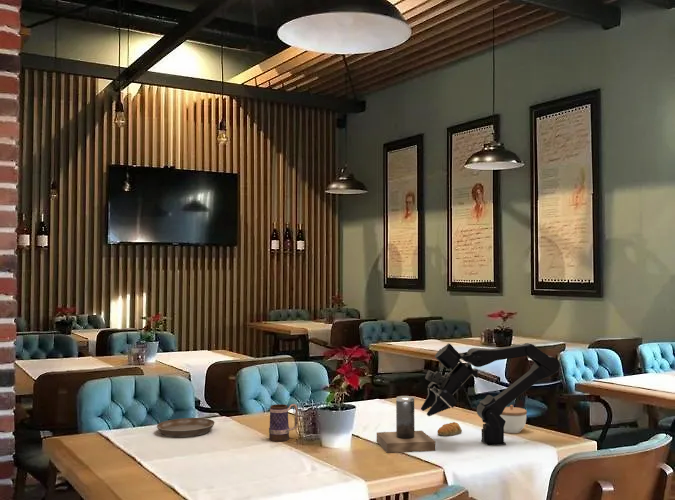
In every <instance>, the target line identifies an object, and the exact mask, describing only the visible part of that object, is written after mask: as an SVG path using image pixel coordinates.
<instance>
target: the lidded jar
mask: <svg viewBox="0 0 675 500" xmlns="http://www.w3.org/2000/svg"><path fill="white" fill-rule="evenodd" d="M527 413H528V411H527V409H525V408H522V407H514V405H513V404H510V405H509V406H506V407H505V409H504V411H503V413H502V414H501V415H500V416H501V417H502V418H503V419H504V420H505V421H506V422H505V425H504V433H507V434H520V433H521V431H522V430H523V429H524V428H525V426H526V423H527Z"/></svg>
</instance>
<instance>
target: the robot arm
mask: <svg viewBox="0 0 675 500" xmlns="http://www.w3.org/2000/svg"><path fill="white" fill-rule="evenodd" d="M522 357H528V358H529V359H530V360H531V361H532V362H533V363H532V365H531V367H530V369H528V371H527V372H526V373H524V374H523V375H522V376H520V377H519V378H518V379H517V380H515V381H514V382H513V383H512V384H510V385H509V386H508V387H506V388H505V389H503V390H502V391H501V392H500V393H499V394H497V395H495V396H493V395H490V394H487V395H486V396H485V398H483V399H482V400H479V404H478V405H476V414H477V415H478V417H479V418H480V419H481V420H482V423H483V424H482V428H481V443H483V444H484V445H486V446H502V445H503V446H504V445H505V446H506V445H507V443H506V442H505V432H504V425H505V422H506V421H505V420H504V419H503V418H502V417H501V416H500V415H501V414H502V413H503V411H504V409H505V407H508V405H509V404H511V403H512V402H514V401H515V400H516V399H517V398H519V396H521V395H522V394H523V393H525V392H527V391H528V390H529V389H530V388H531V387H533V386H534V385H535V384H536V383H538V382H539V381H542V380H544V379H547V378H549V377H551V376H553V375H555V374H557V373H558V372H559V371H560V365H561V363H560V362H559V360H558V359H557V358H556V357H554V356H551V355H548V354H547V353H545V352H544V351H542V350H541V349H539V348H537V347H536V346H535V345H534V344H532V343H528V342H527V343H523V344H517V345H510V346H508V345H507V346H502V347H496V348H495V347H494V348H485V347H484V348H483V347H472V348H469V349H468V350H467V351H465V352H464V351H463V352H458V350H456V348H455V347H454V346H453V344H451V343H447V344H446V345H444V346H443V347H441V348H440V349H439V350H438V351H437V352H436V354H435V355H434V358H435V359H436V360H437V361H438V362H439V363H440V364H441V365H442V366H443V367H444V368H445V369H447V370H449V369H451V370H450V372H449V373H448V374H447V373H444V374H443V373H442V372H440V371H438V370H436V371H432V370H430V369H428V370H427V372H426V374H425V377H424V379H425V380H427V381H428V382H430V383H429V384H428V385H427V396H426V398H425V400H424V401H423V404H422V406H421V408H420V410H421V411H422V412H424V411H426V410H428V411H427V413H426V415H427V417H431V416H434V415H436V414H438V413H441V412H443V411H445V410H446V411H447V410H448V409H451V408H452V409H453V408H454V407H456V405H457V399H456V398H455V396H454V394H456V393H457V391H458V390H462V388H463V385H464V384H465V383H466V381H467V380H468V379H470V377H471V376H472V377H473V378H476V379H478V378H479V371H478V369H476V368H481V367H483V366H487V365H489V364H492V363H494V362H497V361H501V360H507V359H509V360H510V359H515V358H516V359H517V358H522ZM462 361H463V362H466V363H465V364H464V363H463V362H462ZM472 366H474V367H475V368H473V367H472Z"/></svg>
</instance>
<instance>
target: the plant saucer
mask: <svg viewBox="0 0 675 500" xmlns="http://www.w3.org/2000/svg"><path fill="white" fill-rule="evenodd" d="M215 423H216V422H215V420H214V419H213V420H212V419H210V418H204V417H203V418H202V417H184V418H175V419H170V420H169V419H168V420H165V421H162V422H159V423H158V424H156V428H157V430H158V431H159V432H160V434H162V435H163V436H166V437H171V438H191V437H192V438H193V437H196V436H202V435H205V434H207V433H208V432H210V430H212V428H213V427H214V426H215Z"/></svg>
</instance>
